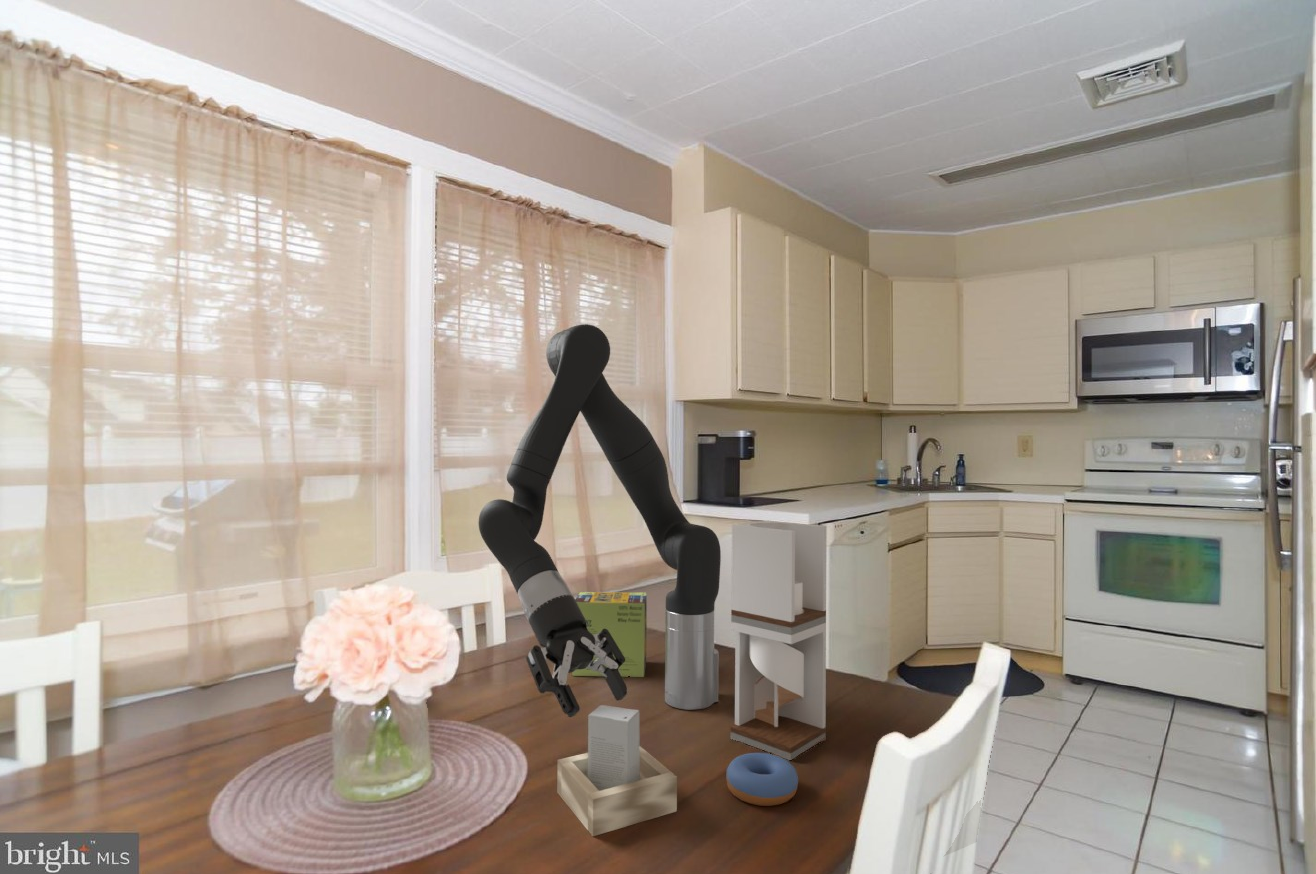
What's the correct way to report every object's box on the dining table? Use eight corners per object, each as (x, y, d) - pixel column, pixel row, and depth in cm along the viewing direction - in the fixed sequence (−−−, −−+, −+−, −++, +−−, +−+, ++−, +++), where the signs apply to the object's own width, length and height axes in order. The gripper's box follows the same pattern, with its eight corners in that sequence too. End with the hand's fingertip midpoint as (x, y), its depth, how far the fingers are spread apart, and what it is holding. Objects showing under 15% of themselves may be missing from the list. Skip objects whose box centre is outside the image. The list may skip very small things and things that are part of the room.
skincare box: (640, 798, 92) (641, 709, 92) (628, 814, 88) (628, 721, 88) (599, 790, 94) (600, 703, 94) (586, 805, 90) (587, 714, 90)
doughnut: (782, 816, 87) (781, 779, 88) (713, 799, 93) (713, 764, 93) (809, 792, 96) (808, 758, 96) (744, 777, 101) (744, 745, 102)
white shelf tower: (730, 739, 111) (732, 525, 112) (766, 720, 119) (768, 520, 120) (790, 761, 103) (791, 531, 104) (825, 739, 111) (826, 526, 112)
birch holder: (634, 772, 99) (634, 741, 99) (676, 811, 89) (677, 776, 89) (557, 792, 93) (557, 759, 93) (592, 836, 83) (593, 799, 83)
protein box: (645, 677, 141) (645, 602, 141) (571, 676, 141) (571, 601, 141) (646, 661, 151) (647, 591, 151) (577, 660, 151) (578, 591, 152)
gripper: (520, 601, 95) (570, 705, 87) (598, 586, 106) (649, 678, 97) (500, 631, 99) (546, 734, 91) (577, 614, 109) (625, 705, 101)
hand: (599, 705), depth 94 cm, fingers open, 8 cm apart
